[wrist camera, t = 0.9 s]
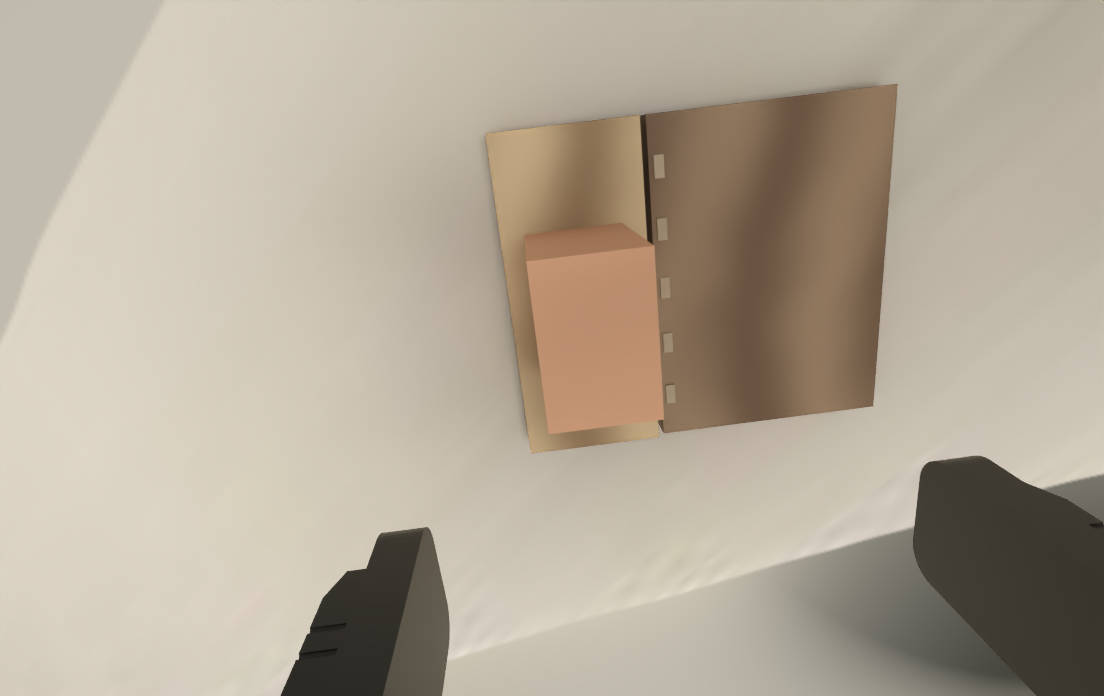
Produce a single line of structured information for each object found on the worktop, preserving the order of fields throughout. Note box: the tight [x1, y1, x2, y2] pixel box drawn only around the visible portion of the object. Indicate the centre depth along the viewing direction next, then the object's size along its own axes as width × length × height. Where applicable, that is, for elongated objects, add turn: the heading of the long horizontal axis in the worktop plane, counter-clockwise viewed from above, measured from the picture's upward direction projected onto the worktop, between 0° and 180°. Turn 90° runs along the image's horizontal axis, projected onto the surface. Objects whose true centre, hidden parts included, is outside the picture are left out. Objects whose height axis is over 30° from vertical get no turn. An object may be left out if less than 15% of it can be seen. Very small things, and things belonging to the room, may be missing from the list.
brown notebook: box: [640, 84, 898, 433], centre depth 25 cm, size 10×14×1 cm
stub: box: [485, 115, 664, 453], centre depth 22 cm, size 6×14×7 cm, turn 7°
